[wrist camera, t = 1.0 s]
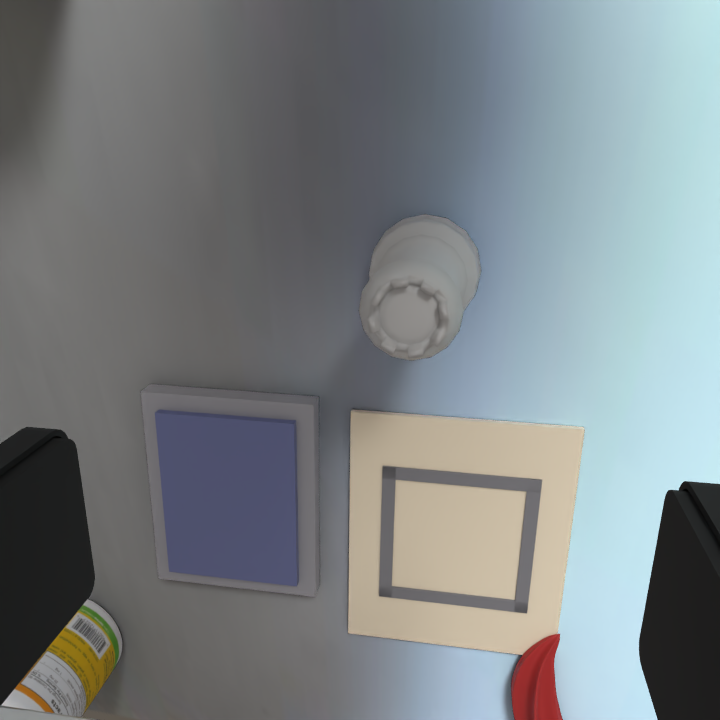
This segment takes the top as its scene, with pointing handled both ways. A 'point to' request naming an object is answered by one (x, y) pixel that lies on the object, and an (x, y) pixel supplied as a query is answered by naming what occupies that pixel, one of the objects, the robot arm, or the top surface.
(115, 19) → the top surface
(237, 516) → the ink pad
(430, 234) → the rook chess piece
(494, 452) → the print card
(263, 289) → the top surface
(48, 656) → the supplement bottle
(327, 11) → the top surface
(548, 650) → the cayenne pepper
